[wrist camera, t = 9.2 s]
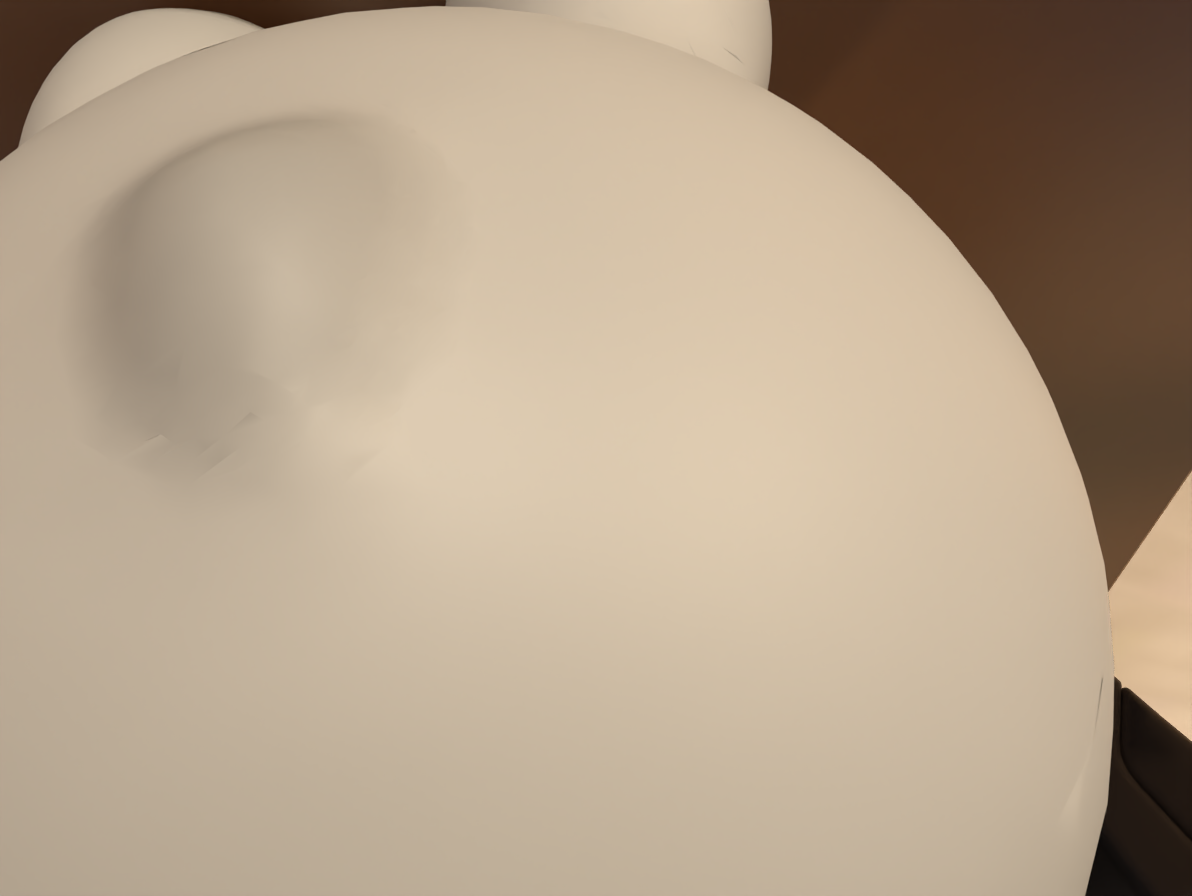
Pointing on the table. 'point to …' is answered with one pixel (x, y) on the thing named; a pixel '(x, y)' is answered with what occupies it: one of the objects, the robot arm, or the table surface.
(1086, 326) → the cutting board
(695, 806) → the toy rhinoceros
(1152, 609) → the table surface
